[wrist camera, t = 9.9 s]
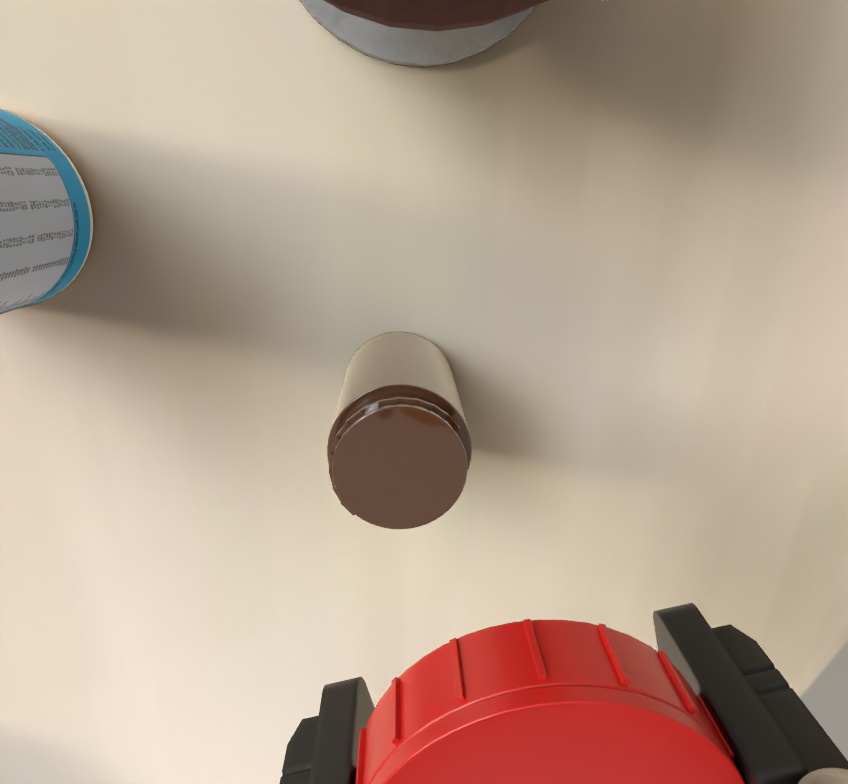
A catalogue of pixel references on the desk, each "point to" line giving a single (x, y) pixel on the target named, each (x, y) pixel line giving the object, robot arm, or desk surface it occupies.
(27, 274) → the blue labeled canister
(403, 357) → the jar
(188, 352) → the desk surface
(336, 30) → the mate gourd
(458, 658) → the lid
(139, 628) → the desk surface
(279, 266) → the desk surface
